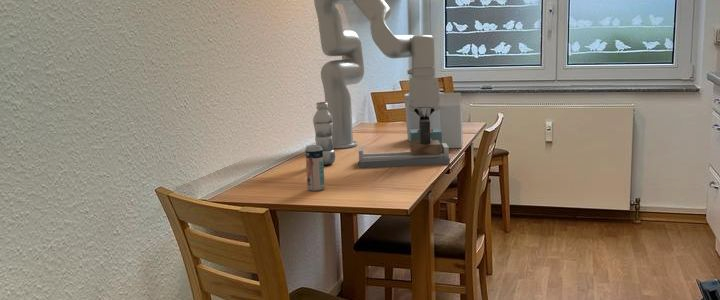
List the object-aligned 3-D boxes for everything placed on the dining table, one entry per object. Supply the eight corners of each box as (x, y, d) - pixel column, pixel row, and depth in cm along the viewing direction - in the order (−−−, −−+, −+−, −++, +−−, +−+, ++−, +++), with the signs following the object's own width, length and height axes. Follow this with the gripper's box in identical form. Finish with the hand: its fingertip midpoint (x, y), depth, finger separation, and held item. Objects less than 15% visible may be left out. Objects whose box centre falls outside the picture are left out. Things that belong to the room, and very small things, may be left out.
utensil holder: (435, 143, 259) (434, 95, 256) (399, 141, 267) (397, 95, 264) (451, 137, 272) (450, 91, 269) (416, 136, 279) (414, 91, 276)
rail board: (359, 168, 220) (358, 152, 219) (360, 160, 232) (359, 145, 231) (449, 164, 219) (449, 148, 218) (446, 157, 231) (445, 142, 230)
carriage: (411, 155, 220) (410, 123, 218) (410, 150, 229) (409, 119, 227) (441, 153, 220) (440, 121, 218) (438, 149, 229) (437, 118, 227)
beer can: (307, 188, 195) (304, 145, 193) (324, 187, 195) (322, 144, 193) (307, 192, 190) (304, 148, 188) (325, 191, 190) (322, 147, 188)
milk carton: (461, 148, 246) (460, 93, 243) (440, 148, 248) (439, 94, 244) (462, 145, 253) (461, 91, 250) (442, 145, 254) (441, 92, 251)
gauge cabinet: (411, 157, 234) (411, 133, 232) (410, 152, 242) (409, 129, 240) (442, 155, 233) (441, 131, 232) (440, 151, 242) (439, 128, 240)
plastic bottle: (338, 162, 230) (335, 101, 227) (331, 167, 224) (327, 103, 220) (320, 162, 232) (316, 101, 229) (312, 166, 226) (308, 104, 222)
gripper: (400, 74, 230) (402, 130, 233) (447, 72, 229) (448, 129, 233) (400, 73, 237) (401, 127, 240) (445, 71, 237) (446, 125, 240)
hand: (424, 128), depth 236 cm, fingers closed
